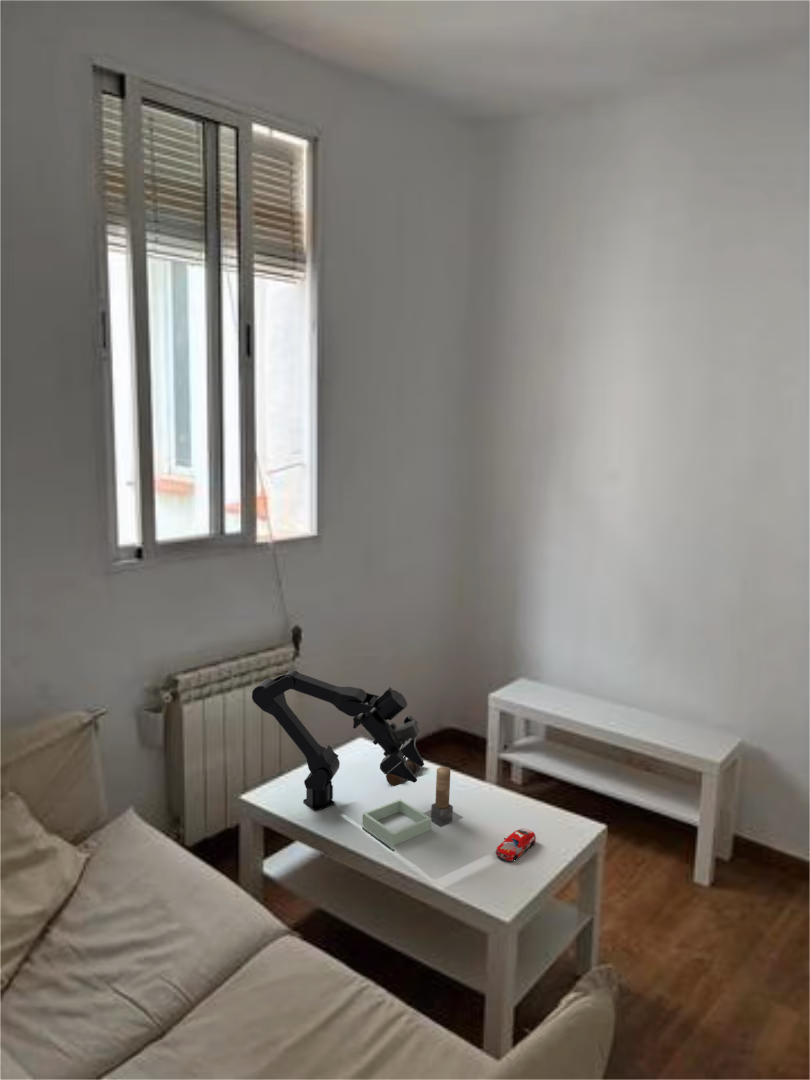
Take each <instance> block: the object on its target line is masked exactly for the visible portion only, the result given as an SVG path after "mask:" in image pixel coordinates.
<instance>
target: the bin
mask: <svg viewBox="0 0 810 1080" xmlns="http://www.w3.org/2000/svg"><path fill="white" fill-rule="evenodd" d="M399 812H400V813H401V814H402V815H405V817H407V818H409V819H411V820H413V821H414V822H415V823H412V824H410V825H408V826H405V827H403V828H400V829H398V830H395V831H393V830H392V829H389V828H388V827H386V825H384V824H382V823H381V822H379V820H382V819H384V818H386V817H389V816H392V815H394V814H396V813H399ZM423 813H424V812H422V811H420V810H418V808H416V807H414V806H412V805H411V804H410V803H408V802H406V801H405V800H403V799H402V798H399V799H396V800H393V801H391V802H388V803H385V804H383V805H380V806H379V807H376V808H372V809H371V810H370V809H369V810H368V811H365V812H362V822H361V823H362V825H363V826H362V828H361V830H362V831H364V832H365V833H367V834H368V835H369V834H370V835H369V836H371V837H372V838H373V839H375V840H376V841H377V842H379V843H380V844H381V845H383V846H385V848H386V849H388V850H390V851H391V852H394V851H396V850H395V849H394V848H393V847H394V846H396V845H398V844H400V843H403V842H405V841H408V840H410V839H412V838H414V837H417V836H419V835H422V834H424V833H426V832H428V831H431V830H432V821H431V818H430V817H428V816H427V815H425V814H423ZM365 827H366V828H367V829H366V828H365ZM369 830H370V831H371V832H370V831H369ZM373 833H374V834H375V835H374V834H373ZM376 835H377V836H378V837H377V836H376ZM382 839H383V840H384V841H383V840H382ZM386 842H387V843H386ZM389 844H390V845H389ZM391 846H392V847H391Z"/></svg>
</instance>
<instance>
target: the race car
mask: <svg viewBox="0 0 810 1080" xmlns="http://www.w3.org/2000/svg"><path fill="white" fill-rule="evenodd" d="M536 839H537V838H536V833H535V832H534V831H533V830H530V829H527V828H519V829H517V830H514V832H512V833H511V834H509V835H507V837H506V838H505V837H503V841H502V843H500V844H499V845H498V846H497V847H496V850H495V853H496V856H497V857H498V858H499V859H500V860H502V861H505V862H515V861H517V860H516V859H518V857H519V858H520V857H521V856H522V855H523V854H525V853H527V851H529V850H530V849H532V848H533V847H534V845H536ZM532 846H533V847H532ZM531 847H532V848H531ZM528 849H529V850H528ZM524 852H525V853H524ZM514 860H515V861H514Z"/></svg>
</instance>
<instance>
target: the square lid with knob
mask: <svg viewBox="0 0 810 1080" xmlns="http://www.w3.org/2000/svg"><path fill="white" fill-rule="evenodd" d="M422 813H423V814H425V815H427V816H428V817H430V818H431V823H433V824H435V825H437V826H438V827H439V828H442V827H445V826H447V825H449V824H451V823H453V822H456V821H459V820H461V819H463V818H464V817H463V816H462V815H460V814H458V813H457V812H455V811H453V815H452V817H450V818H448V819H446V820H443V821H440V820H438V819H437V818H435V817H434V816H432V815H431V809H430V810H428V811H425V812H422Z"/></svg>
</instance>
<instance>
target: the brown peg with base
mask: <svg viewBox="0 0 810 1080" xmlns="http://www.w3.org/2000/svg"><path fill="white" fill-rule="evenodd" d="M435 777H436V778H435V779H436V782H435V784H436V785H435V803H432V804H431V805H430V806H431V809H430V810H431V815H432V816H434V817H435V818H437V819H438V820H440V821H443V820H446V819H448V818H450V817H452V815H453V812H454V810H453V809H454V806H453V805H452V804H450V792H451V791H450V789H451V788H450V787H451V769H450V768H449V767H446V766H441V767H438V768H437V769H436V775H435Z"/></svg>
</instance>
